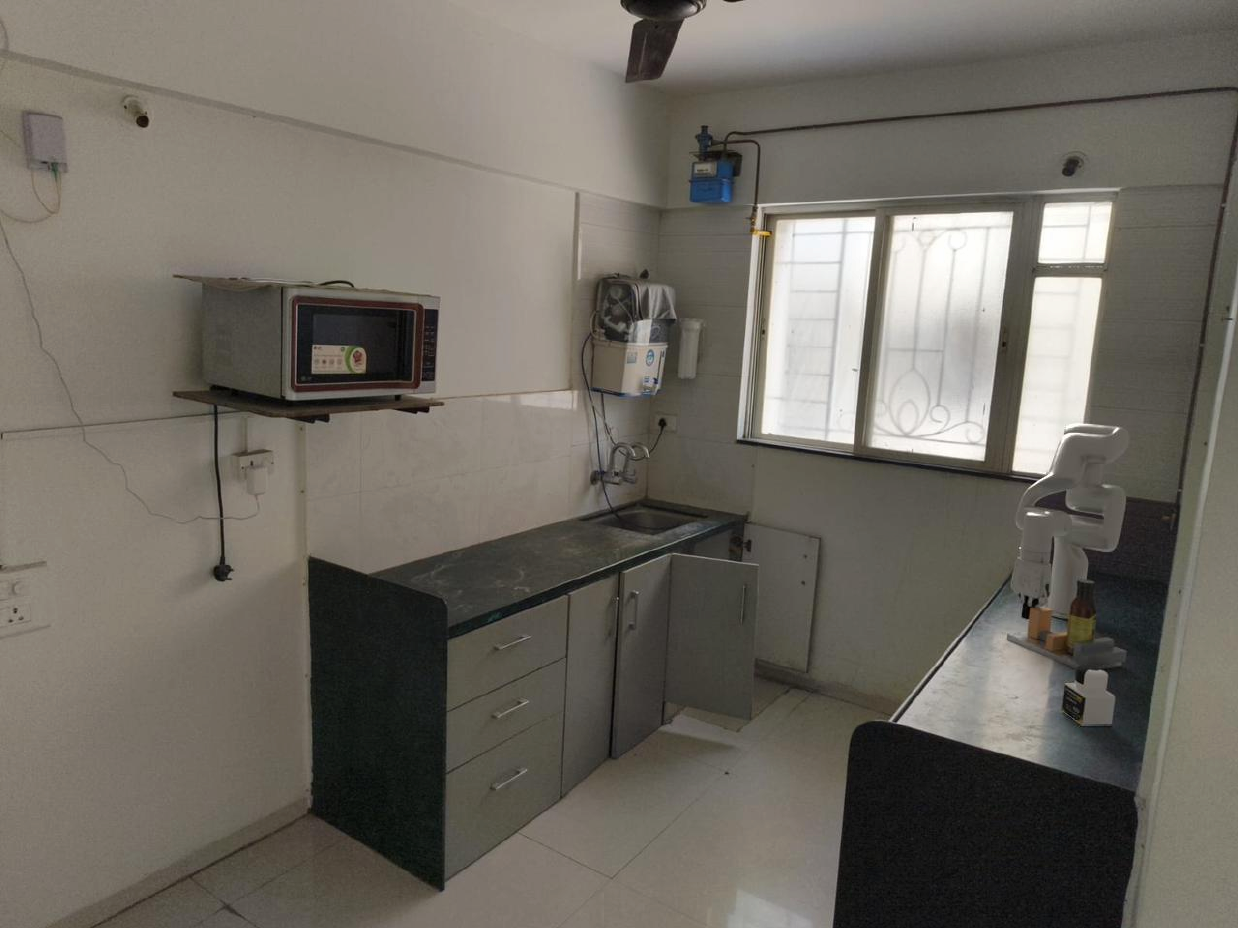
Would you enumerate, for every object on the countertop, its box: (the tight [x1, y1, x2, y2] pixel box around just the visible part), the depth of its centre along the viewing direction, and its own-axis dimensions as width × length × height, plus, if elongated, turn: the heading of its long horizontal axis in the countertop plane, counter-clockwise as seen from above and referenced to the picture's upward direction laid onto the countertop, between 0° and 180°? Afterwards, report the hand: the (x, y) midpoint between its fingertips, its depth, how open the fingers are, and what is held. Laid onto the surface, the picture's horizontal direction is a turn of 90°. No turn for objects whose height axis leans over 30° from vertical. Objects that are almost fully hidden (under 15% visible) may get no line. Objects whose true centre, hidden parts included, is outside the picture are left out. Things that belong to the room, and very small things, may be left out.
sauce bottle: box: [1066, 579, 1097, 654], centre depth 210 cm, size 6×6×20 cm
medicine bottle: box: [1061, 665, 1116, 725], centre depth 175 cm, size 7×7×12 cm
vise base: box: [1006, 630, 1128, 670], centre depth 215 cm, size 25×14×6 cm, turn 21°
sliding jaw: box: [1027, 605, 1067, 651], centre depth 219 cm, size 11×12×8 cm
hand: (1027, 617), depth 226 cm, fingers closed
